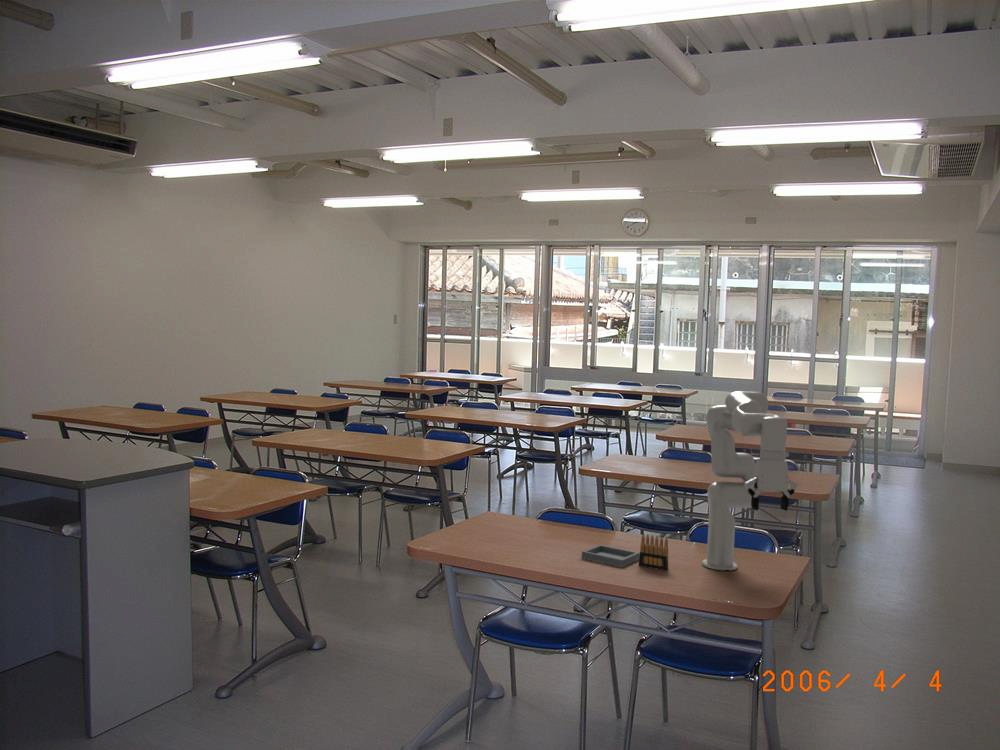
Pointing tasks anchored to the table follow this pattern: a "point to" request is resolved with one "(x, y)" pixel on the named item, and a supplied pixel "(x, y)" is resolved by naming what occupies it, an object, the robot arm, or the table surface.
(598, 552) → the holder tray
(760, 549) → the table surface
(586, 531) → the table surface
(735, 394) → the robot arm
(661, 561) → the ammunition clip
